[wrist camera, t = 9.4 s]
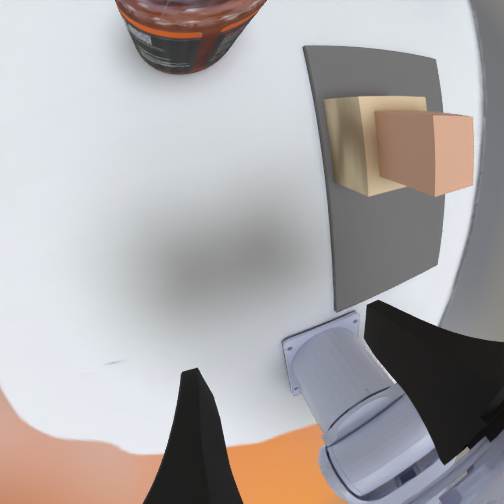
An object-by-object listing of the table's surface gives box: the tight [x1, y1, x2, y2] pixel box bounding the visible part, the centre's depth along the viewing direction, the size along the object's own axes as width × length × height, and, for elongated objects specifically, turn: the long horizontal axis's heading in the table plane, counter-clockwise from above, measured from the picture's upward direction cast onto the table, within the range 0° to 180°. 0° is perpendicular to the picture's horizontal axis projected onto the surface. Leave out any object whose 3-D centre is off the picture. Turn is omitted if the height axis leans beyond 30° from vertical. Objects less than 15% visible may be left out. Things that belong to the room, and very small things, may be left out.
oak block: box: [323, 96, 427, 197], centre depth 16 cm, size 6×6×4 cm
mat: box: [303, 46, 445, 313], centre depth 21 cm, size 22×14×1 cm, turn 11°
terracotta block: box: [374, 110, 474, 197], centre depth 13 cm, size 4×4×4 cm
